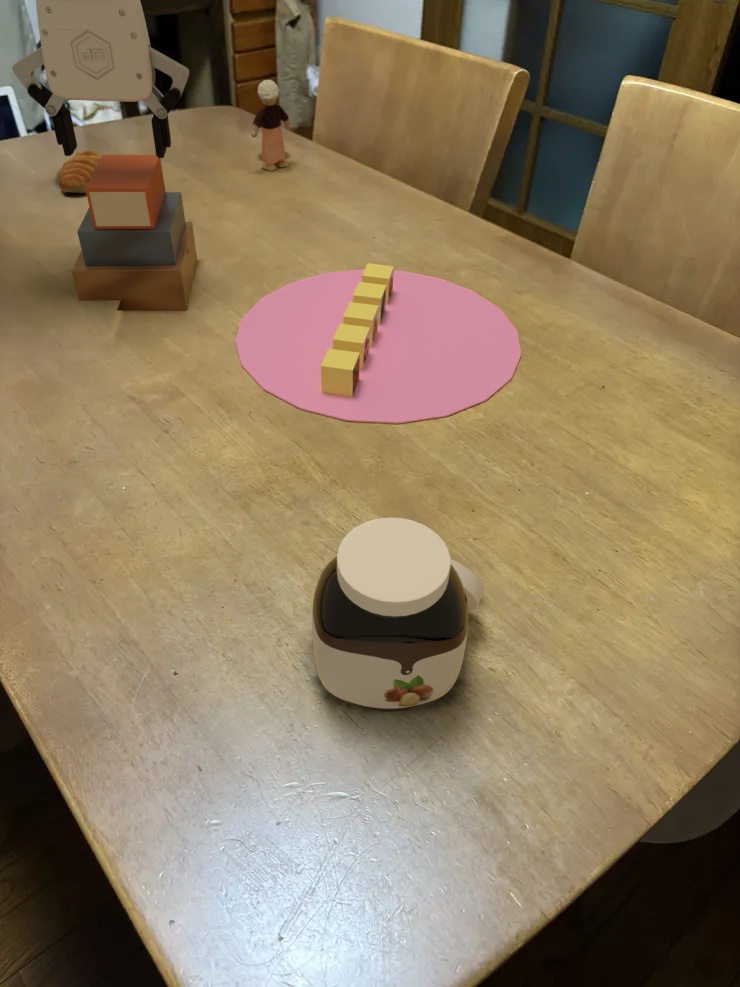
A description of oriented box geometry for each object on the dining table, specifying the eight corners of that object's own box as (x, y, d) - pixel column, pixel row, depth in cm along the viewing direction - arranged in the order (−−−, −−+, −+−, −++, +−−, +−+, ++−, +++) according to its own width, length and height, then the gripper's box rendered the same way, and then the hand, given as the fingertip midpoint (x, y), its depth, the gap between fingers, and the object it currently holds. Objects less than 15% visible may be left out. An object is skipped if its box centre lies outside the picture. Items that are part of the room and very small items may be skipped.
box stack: (80, 311, 87) (61, 236, 81) (101, 259, 96) (85, 189, 90) (187, 310, 88) (176, 235, 82) (198, 259, 97) (188, 189, 91)
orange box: (94, 229, 82) (84, 188, 79) (110, 193, 90) (102, 154, 86) (154, 229, 83) (147, 188, 80) (166, 193, 90) (159, 154, 87)
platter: (191, 398, 75) (186, 369, 73) (282, 257, 98) (280, 232, 96) (511, 445, 71) (517, 417, 69) (528, 287, 94) (533, 261, 92)
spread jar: (311, 717, 50) (305, 607, 42) (319, 585, 58) (315, 472, 50) (491, 718, 50) (519, 610, 42) (473, 587, 58) (494, 475, 50)
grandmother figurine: (278, 157, 125) (274, 72, 116) (296, 163, 123) (293, 77, 114) (247, 170, 120) (240, 83, 111) (265, 176, 118) (259, 88, 110)
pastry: (94, 198, 110) (87, 172, 108) (49, 196, 111) (42, 169, 108) (115, 175, 117) (110, 149, 115) (73, 172, 118) (67, 147, 115)
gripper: (-26, -35, 67) (25, 163, 78) (172, -26, 68) (194, 167, 80) (-2, -49, 72) (43, 138, 84) (181, -41, 74) (200, 142, 85)
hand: (116, 152), depth 82 cm, fingers open, 9 cm apart
